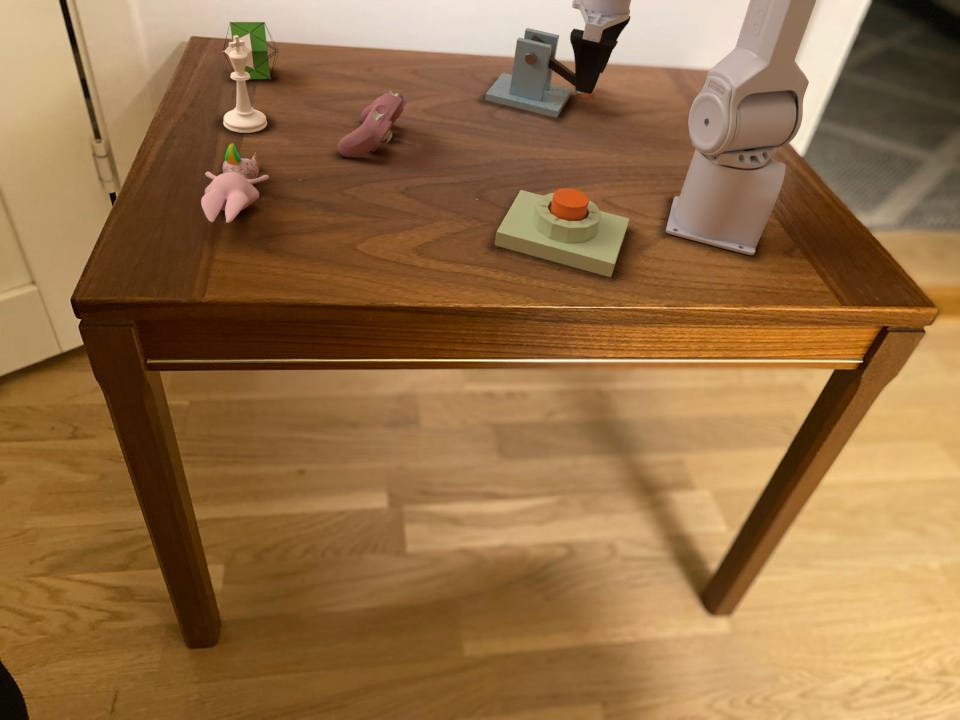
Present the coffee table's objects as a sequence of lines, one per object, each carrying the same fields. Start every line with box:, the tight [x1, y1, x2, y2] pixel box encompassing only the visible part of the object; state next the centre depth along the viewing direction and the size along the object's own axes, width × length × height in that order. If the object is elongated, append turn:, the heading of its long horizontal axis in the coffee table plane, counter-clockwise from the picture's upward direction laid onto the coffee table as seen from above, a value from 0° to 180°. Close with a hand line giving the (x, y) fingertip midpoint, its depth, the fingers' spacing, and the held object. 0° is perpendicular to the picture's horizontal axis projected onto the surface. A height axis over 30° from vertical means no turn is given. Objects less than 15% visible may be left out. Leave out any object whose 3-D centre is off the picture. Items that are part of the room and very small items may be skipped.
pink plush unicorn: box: [200, 143, 270, 224], centre depth 73 cm, size 6×6×15 cm
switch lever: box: [530, 35, 598, 101], centre depth 97 cm, size 11×3×3 cm, turn 72°
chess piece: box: [222, 35, 268, 134], centre depth 84 cm, size 5×5×10 cm
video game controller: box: [337, 89, 408, 158], centre depth 85 cm, size 10×5×7 cm, turn 168°
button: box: [550, 187, 590, 221], centre depth 74 cm, size 4×4×2 cm
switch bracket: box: [484, 27, 572, 118], centre depth 98 cm, size 10×8×8 cm
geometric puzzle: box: [221, 21, 280, 80], centre depth 94 cm, size 7×7×8 cm
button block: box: [494, 189, 630, 278], centre depth 76 cm, size 12×9×4 cm
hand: (589, 80), depth 97 cm, fingers open, 7 cm apart
